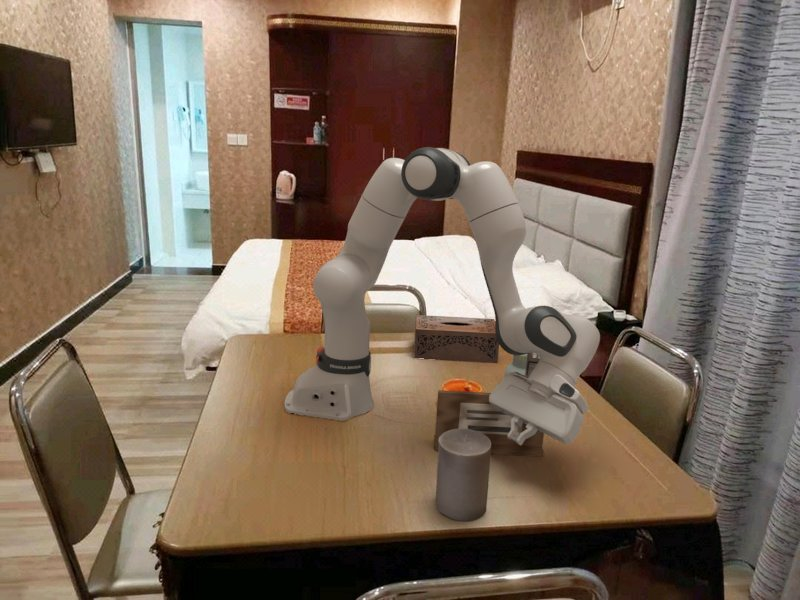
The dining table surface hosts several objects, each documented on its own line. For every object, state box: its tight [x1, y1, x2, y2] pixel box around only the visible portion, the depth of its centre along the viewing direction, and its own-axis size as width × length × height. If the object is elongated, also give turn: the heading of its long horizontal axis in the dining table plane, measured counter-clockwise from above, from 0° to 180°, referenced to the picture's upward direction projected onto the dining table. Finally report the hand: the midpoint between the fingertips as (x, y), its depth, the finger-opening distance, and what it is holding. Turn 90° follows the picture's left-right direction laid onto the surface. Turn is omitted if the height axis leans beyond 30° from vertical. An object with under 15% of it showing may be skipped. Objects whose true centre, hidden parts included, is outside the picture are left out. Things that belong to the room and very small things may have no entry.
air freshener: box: [503, 354, 527, 378], centre depth 164 cm, size 11×8×10 cm
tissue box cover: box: [413, 314, 500, 364], centre depth 186 cm, size 26×14×10 cm, turn 88°
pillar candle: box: [434, 429, 492, 522], centre depth 108 cm, size 10×10×15 cm
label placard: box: [433, 389, 545, 457], centre depth 129 cm, size 24×5×13 cm, turn 89°
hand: (513, 441), depth 117 cm, fingers closed
